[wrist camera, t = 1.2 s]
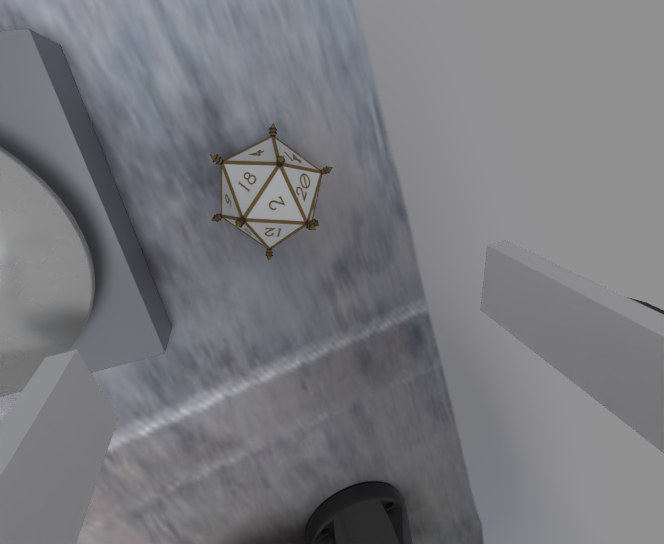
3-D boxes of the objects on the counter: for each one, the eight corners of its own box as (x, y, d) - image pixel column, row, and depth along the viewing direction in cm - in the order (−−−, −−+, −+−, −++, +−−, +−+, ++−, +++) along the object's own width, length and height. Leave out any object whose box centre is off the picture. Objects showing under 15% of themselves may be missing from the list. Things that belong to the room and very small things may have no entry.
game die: (252, 159, 31) (265, 71, 22) (328, 213, 32) (370, 151, 23) (188, 229, 28) (171, 161, 18) (275, 288, 29) (300, 251, 19)
